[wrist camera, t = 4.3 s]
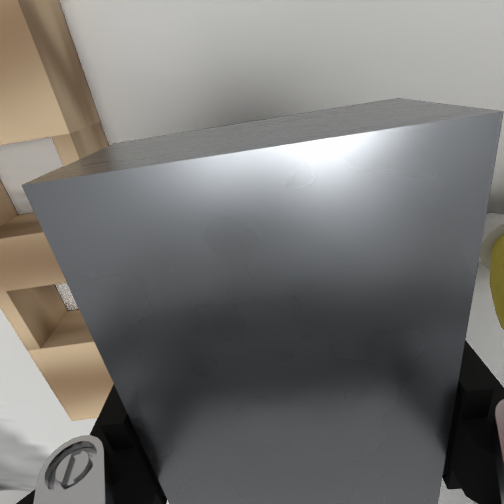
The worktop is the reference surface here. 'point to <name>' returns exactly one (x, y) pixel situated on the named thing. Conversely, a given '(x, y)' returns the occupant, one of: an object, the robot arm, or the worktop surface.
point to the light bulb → (494, 259)
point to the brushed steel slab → (283, 295)
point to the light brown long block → (27, 225)
